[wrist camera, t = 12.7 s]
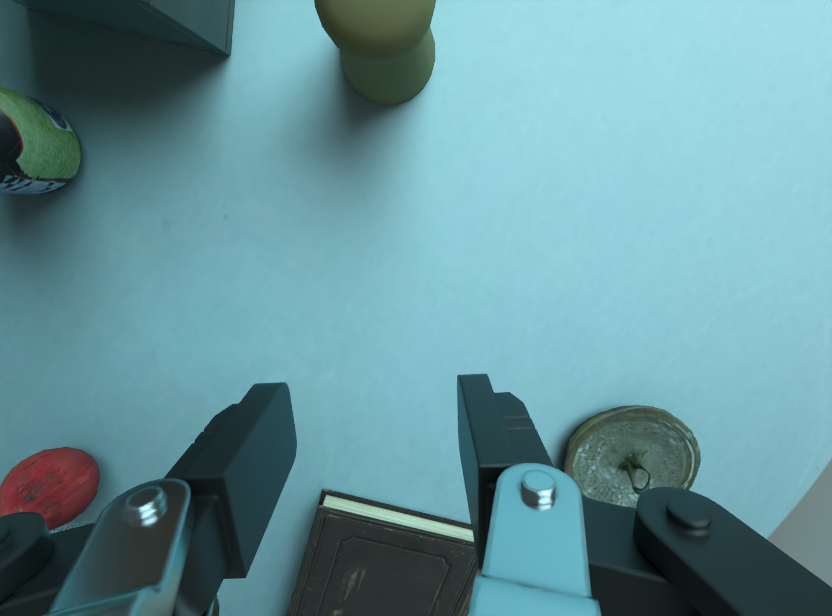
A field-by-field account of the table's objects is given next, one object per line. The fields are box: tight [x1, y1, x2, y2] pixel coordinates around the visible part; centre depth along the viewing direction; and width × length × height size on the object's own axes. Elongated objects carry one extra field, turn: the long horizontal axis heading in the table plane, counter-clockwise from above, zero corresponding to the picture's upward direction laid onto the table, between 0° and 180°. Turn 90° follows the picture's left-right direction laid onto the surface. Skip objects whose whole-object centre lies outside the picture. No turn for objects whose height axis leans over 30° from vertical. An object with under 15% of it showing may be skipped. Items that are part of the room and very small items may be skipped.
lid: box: [563, 405, 701, 508], centre depth 34 cm, size 11×10×5 cm
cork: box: [314, 0, 436, 105], centre depth 22 cm, size 6×6×11 cm
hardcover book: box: [287, 489, 482, 616], centre depth 40 cm, size 16×23×2 cm
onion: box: [0, 447, 100, 531], centre depth 32 cm, size 6×6×8 cm
